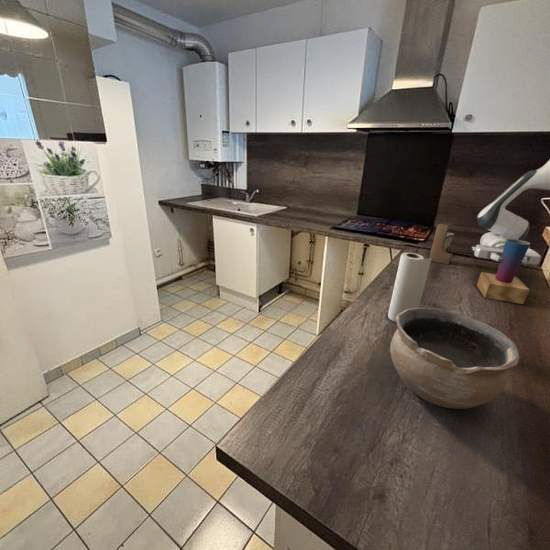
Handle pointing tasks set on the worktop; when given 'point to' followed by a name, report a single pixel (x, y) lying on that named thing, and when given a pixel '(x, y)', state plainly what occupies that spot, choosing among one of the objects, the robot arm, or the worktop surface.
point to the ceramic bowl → (451, 357)
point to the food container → (448, 241)
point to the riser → (502, 289)
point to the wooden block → (440, 246)
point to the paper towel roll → (408, 283)
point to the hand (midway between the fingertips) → (512, 260)
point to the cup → (511, 259)
